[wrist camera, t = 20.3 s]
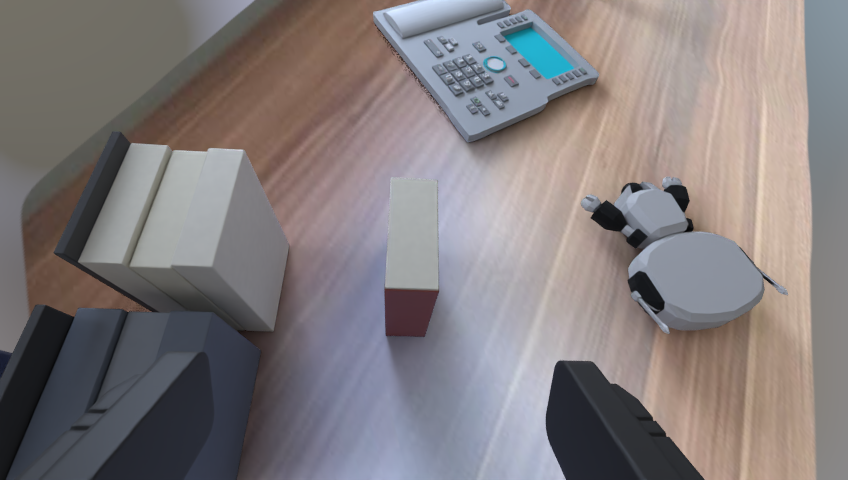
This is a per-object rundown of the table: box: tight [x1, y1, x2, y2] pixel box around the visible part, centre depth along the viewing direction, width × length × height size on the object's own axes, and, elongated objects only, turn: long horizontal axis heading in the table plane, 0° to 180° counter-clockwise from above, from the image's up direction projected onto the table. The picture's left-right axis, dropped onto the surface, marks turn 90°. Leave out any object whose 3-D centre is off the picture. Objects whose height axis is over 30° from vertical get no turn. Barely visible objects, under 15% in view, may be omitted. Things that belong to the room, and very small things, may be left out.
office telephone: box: [373, 0, 599, 142], centre depth 50 cm, size 23×3×20 cm
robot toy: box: [581, 177, 788, 334], centre depth 37 cm, size 12×4×15 cm
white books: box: [54, 132, 289, 331], centre depth 28 cm, size 7×8×14 cm
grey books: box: [0, 305, 261, 480], centre depth 24 cm, size 8×9×12 cm
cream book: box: [385, 178, 439, 337], centre depth 30 cm, size 3×8×11 cm, turn 179°
